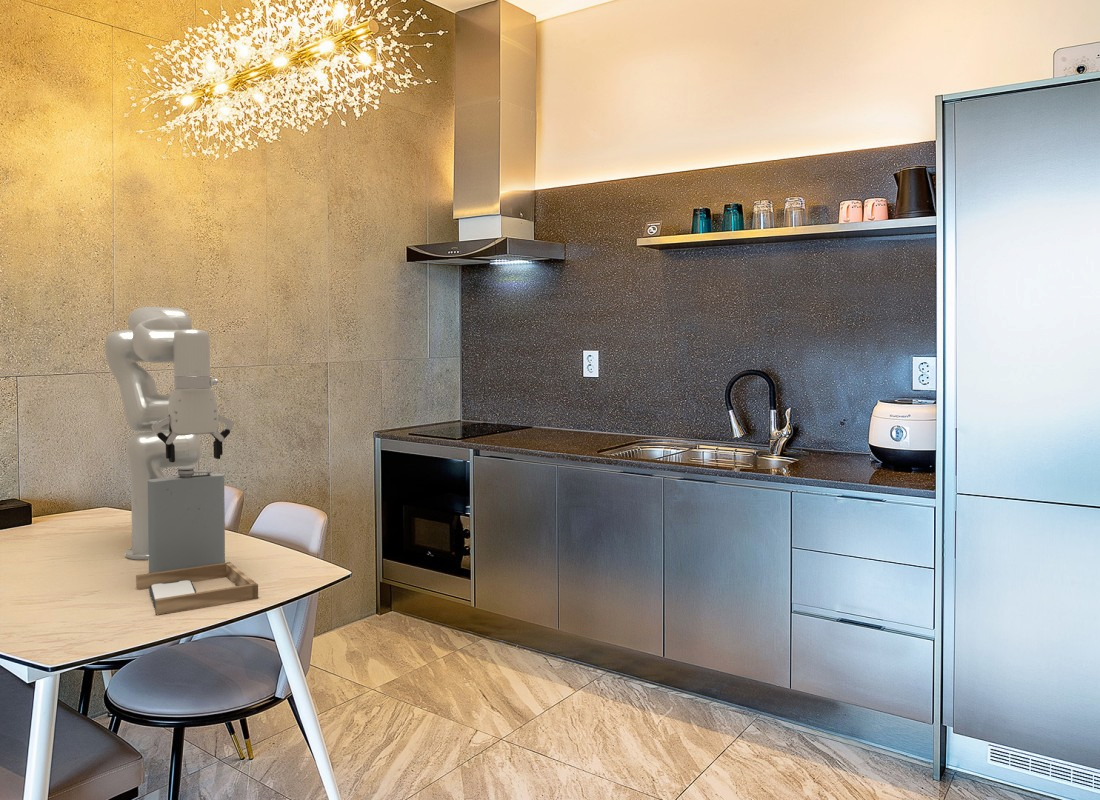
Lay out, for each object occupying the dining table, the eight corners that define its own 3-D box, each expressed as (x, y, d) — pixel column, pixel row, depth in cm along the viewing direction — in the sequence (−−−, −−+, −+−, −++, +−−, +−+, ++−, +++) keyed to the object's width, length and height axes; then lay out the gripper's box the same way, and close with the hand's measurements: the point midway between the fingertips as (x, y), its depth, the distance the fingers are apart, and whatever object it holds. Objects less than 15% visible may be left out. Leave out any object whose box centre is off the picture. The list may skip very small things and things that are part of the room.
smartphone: (200, 607, 173) (191, 585, 187) (200, 600, 173) (191, 579, 187) (154, 614, 169) (148, 591, 183) (154, 606, 169) (148, 584, 183)
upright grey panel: (220, 561, 207) (219, 462, 205) (227, 565, 203) (226, 464, 201) (146, 573, 195) (144, 468, 194) (151, 577, 192) (150, 471, 190)
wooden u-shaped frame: (136, 588, 183) (136, 575, 183) (230, 574, 195) (230, 562, 195) (156, 615, 166) (156, 600, 166) (258, 598, 178) (258, 584, 178)
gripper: (228, 383, 194) (230, 456, 194) (147, 385, 184) (149, 461, 184) (236, 383, 188) (238, 458, 188) (154, 385, 177) (156, 464, 178)
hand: (194, 460), depth 186 cm, fingers open, 9 cm apart
